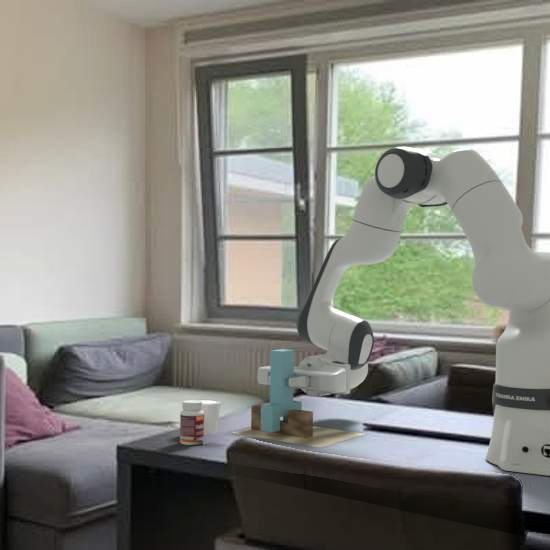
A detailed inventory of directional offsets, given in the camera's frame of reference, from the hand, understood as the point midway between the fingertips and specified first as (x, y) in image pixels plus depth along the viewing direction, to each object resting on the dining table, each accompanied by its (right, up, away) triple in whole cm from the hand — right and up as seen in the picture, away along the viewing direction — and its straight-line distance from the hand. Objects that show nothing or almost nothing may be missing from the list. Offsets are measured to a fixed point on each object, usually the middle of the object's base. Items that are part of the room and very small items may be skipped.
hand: (279, 381), depth 161 cm
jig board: (+4, -12, 0) cm, 13 cm away
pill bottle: (-18, -12, -3) cm, 22 cm away
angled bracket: (0, -10, +1) cm, 10 cm away
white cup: (-16, -12, +6) cm, 21 cm away
